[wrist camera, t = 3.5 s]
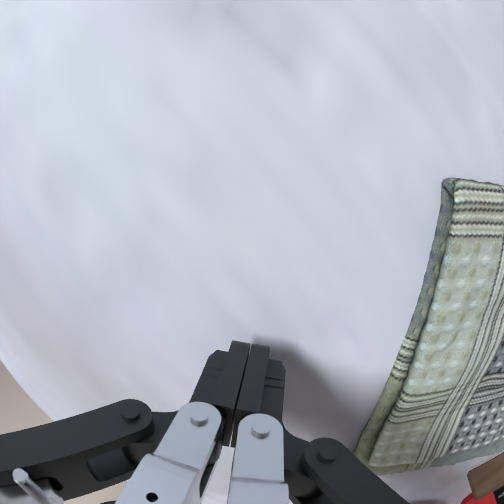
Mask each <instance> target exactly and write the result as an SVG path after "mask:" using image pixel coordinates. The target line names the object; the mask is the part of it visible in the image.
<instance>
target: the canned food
mask: <svg viewBox="0 0 504 504" xmlns="http://www.w3.org/2000/svg"><path fill="white" fill-rule="evenodd" d="M461 504H504V486H502V487H500V488H499V489H497V490H495V491H494V492H492V493H490V494H488V495H486V496H484V497H483V498H481V499H479V500H477V501H475V500H474V496H473V493H471V494H470V495H469V496H467V497H466V498H465V499H464V500H463V501H462V503H461Z"/></svg>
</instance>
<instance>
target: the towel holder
mask: <svg viewBox="0 0 504 504" xmlns="http://www.w3.org/2000/svg"><path fill="white" fill-rule="evenodd" d="M467 477H468V480H469V483H470V486H471V490H472V493H473V496H474V500H475V501H477V500H479V499H481V498H483V497H484V496H486V495H488V494H490V493H492V492H494V491H495V490H497V489H499V488H500V487H502V486H504V453H502V454H500V455H499V456H497V457H495V458H494V459H492V460H490V461H488V462H486V463H485V464H483V465H481V466H479V467H477V468H475V469H473V470H471V471H469V473H468V475H467Z"/></svg>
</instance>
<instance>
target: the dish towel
mask: <svg viewBox="0 0 504 504" xmlns="http://www.w3.org/2000/svg"><path fill="white" fill-rule="evenodd" d="M503 449H504V186H503V185H499V184H493V183H490V182H484V183H483V182H477V181H475V180H466V179H460V178H447V179H444V180H443V181H442V190H441V206H440V212H439V216H438V221H437V227H436V231H435V237H434V240H433V244H432V249H431V252H430V257H429V261H428V265H427V270H426V273H425V276H424V281H423V285H422V289H421V292H420V295H419V298H418V302H417V305H416V308H415V311H414V314H413V316H412V319H411V323H410V325H409V328H408V331H407V333H406V336H405V338H404V340H403V343H402V345H401V348H400V350H399V353H398V355H397V358H396V361H395V363H394V366H393V368H392V371H391V373H390V376H389V378H388V381H387V382H386V385H385V388H384V390H383V392H382V394H381V396H380V398H379V401H378V403H377V405H376V407H375V409H374V412H373V414H372V416H371V418H370V419H369V421H368V423H367V425H366V427H365V429H364V430H363V432H362V435H361V438H360V439H359V441H358V445H357V447H356V449H355V451H354V453H353V455H354V456H355V457H357V458H358V459H359V460H360V461H361V462H362V463H363V464H364V465H365V466H366V467H368V468H369V469H370V470H371V471H372V472H373V473H374V474H375V475H385V474H388V473H401V472H404V471H408V470H415V469H420V468H426V467H436V466H444V465H454V464H456V463H458V462H463V461H466V460H470V459H473V458H476V457H482V456H486V455H491V454H495V453H498V452H501V451H502V450H503Z"/></svg>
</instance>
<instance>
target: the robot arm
mask: <svg viewBox="0 0 504 504" xmlns="http://www.w3.org/2000/svg"><path fill="white" fill-rule="evenodd" d="M269 349H270V347H268V346H262V345H256V344H252V346H251V350H250V343H244V342H239V341H234V340H233V341H232V343H231V346H230V349H229V352H225V351H220V350H216V351H215V352H214V353H213V354H211V355H210V356H209V357H208V360H207V362H206V365H205V367H204V369H203V372H202V375H201V376H200V379H199V381H198V383H197V386H196V388H195V390H194V393H193V395H192V398H191V400H190V402H189V403H188V404H185V405H184V406H182V407H181V408H180V410H178V411H175V412H151V409H150V408H149V407H148V405H146V404H145V403H143V402H142V401H139V400H135V399H126V400H122V401H119V402H116V403H113V404H110V405H107V406H104V407H101V408H98V409H95V410H92V411H89V412H86V413H83V414H79V415H76V416H73V417H69V418H66V419H62V420H59V421H55V422H52V423H48V424H44V425H40V426H36V427H32V428H28V429H24V430H20V431H16V432H12V433H6V434H2V435H0V504H63V501H66V500H69V499H73V498H76V497H80V496H83V495H86V494H89V493H92V492H95V491H98V490H101V489H104V488H107V487H109V486H112V485H115V484H117V483H120V482H123V481H125V480H128V479H130V480H129V481H128V483H127V485H126V486H125V488H124V489H123V491H122V493H121V495H120V496H119V498H118V499H117V500H116V501H109V502H104V503H101V504H201V503H202V500H203V497H204V495H205V492H206V490H207V487H208V485H209V482H210V480H211V477H212V475H213V472H214V470H215V467H216V464H217V461H218V459H219V456H220V453H221V449H222V446H228V447H229V444H230V440H231V436H232V441H231V447H234V448H235V451H234V456H233V462H232V469H231V476H230V484H229V491H228V499H227V504H289V499H290V500H291V501H292V502H293V504H409V503H408V502H407V501H406V500H405V499H403V498H402V497H401V496H400V495H399V494H397V493H396V492H395V491H394V490H393V489H391V488H390V487H389V486H388V485H387V484H386V483H384V482H383V481H382V480H381V479H380V478H379V477H378V476H376V475H375V474H374V473H373V472H372V471H371V470H370V469H369V468H368V467H366V466H365V465H364V464H363V463H362V462H361V461H360V460H359V459H358V458H357V457H355V456H354V455H353V454H352V453H351V452H350V451H349V450H348V449H347V448H346V447H345V446H344V445H343V444H341V443H340V442H338V441H337V440H334V439H331V438H318V439H315V440H313V441H311V442H308V441H305V440H302V439H300V438H297V437H295V436H293V435H292V434H290V433H289V432H288V431H287V430H286V429H285V427H284V425H283V423H282V411H283V398H284V384H285V368H284V366H283V364H282V362H281V361H277V360H271V359H268V356H269ZM249 351H250V354H249ZM232 432H233V434H232Z"/></svg>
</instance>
